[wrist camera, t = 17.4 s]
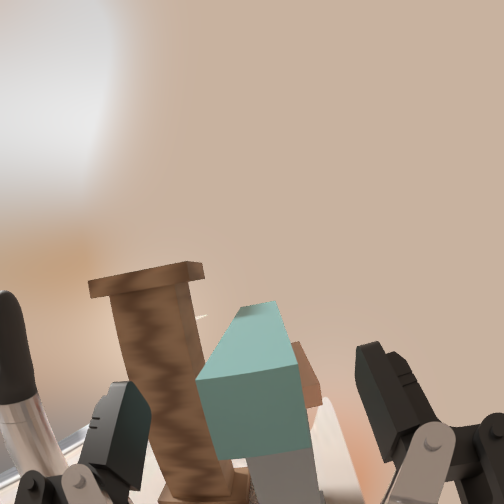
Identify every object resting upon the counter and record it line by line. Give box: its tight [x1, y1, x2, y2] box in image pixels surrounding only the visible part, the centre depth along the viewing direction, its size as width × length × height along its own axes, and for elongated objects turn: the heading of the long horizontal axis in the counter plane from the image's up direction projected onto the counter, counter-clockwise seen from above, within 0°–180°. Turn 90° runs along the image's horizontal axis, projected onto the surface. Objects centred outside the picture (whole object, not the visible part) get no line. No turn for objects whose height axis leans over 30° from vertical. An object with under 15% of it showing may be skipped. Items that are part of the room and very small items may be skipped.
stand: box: [88, 261, 251, 504], centre depth 34 cm, size 12×8×32 cm, turn 88°
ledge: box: [246, 341, 326, 504], centre depth 23 cm, size 7×12×22 cm, turn 178°
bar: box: [195, 301, 312, 460], centre depth 23 cm, size 4×24×4 cm, turn 178°
